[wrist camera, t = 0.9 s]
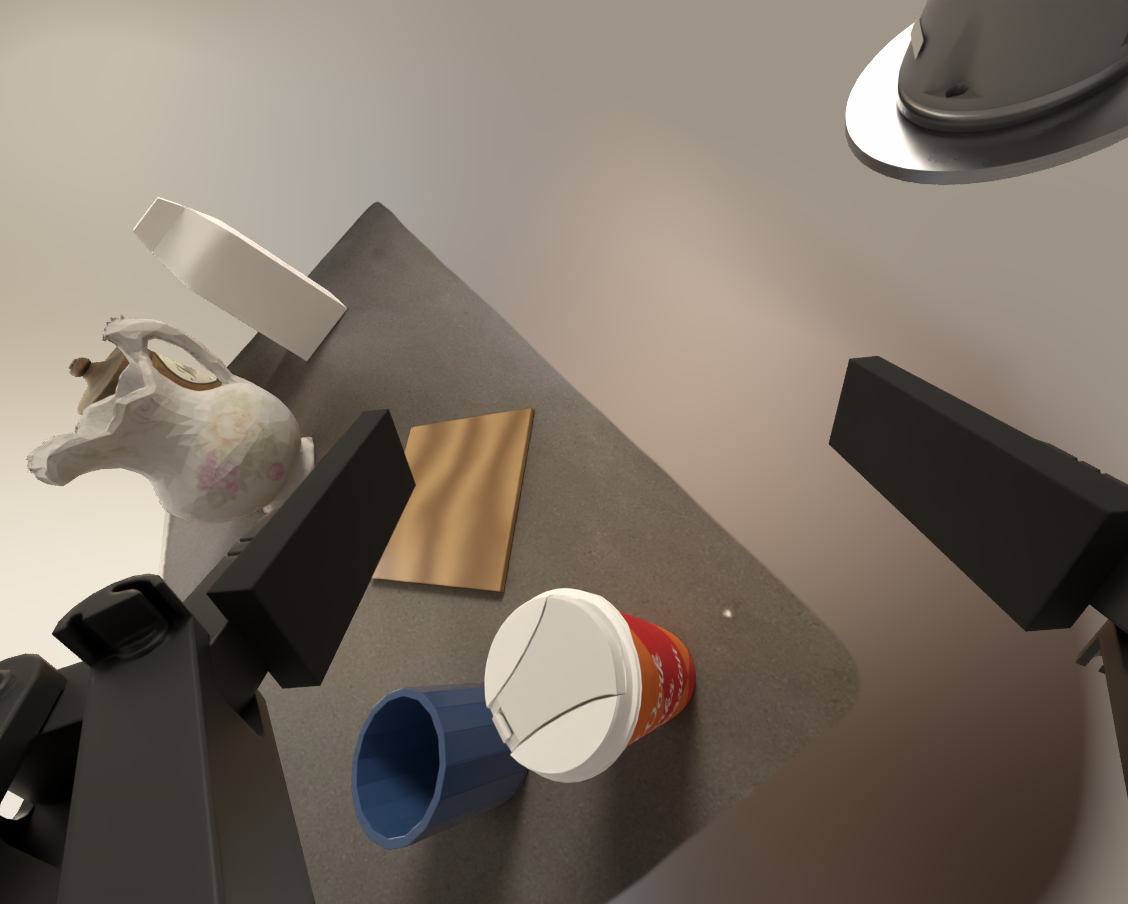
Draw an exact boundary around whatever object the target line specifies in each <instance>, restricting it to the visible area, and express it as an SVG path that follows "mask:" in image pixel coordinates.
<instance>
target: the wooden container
mask: <svg viewBox="0 0 1128 904" xmlns="http://www.w3.org/2000/svg"><path fill="white" fill-rule="evenodd" d="M148 354H149V357H150V359H151V361H152V363H153V367H154V368H155V369H156V370H157V371H158V372H159V373H160V374H162V375H163V376H165V377H166V378H168V379H169V380H171V381H172V382H174V383H175V384H177V385H179V386H181V387H183V388H186V389H190V390H194V391H206V390H211V389H214V388H217V387H220V386H222V382H220V381H219V380H217V379H215V378H212V377H210V376H208V375H206V374H204V373H201V372H199V371H197V370H194V369H192V368H190V367H188V366H185V365H183V364H180V363H178V362H175V361H174V360H171V359H169V358H167V357H165V356H162V355H160V354H158V353H155V352H153V351H151V350H149V349H148ZM129 364H130V363H129V361H128V360H127V358H126V356H125V355H124V353H123V352H122V351H121V350H120V349H119V348H118V347H116V348H115V350H114V351H113V352H112V353H111V354H110V355H109V357H108V358H107V359H106V360H105V361H104V362H96V363H91V361H90V360H89V359H87V358H78V359H74V360H73V362H72V363H71V364H70V366H69V369H70V373H71V375H73V376H75V377H81V376H83V378H84V379H85V380H86V382H87V383H88V387H87V389H86V391H85V393H84V394H83V397H82V399H81V401H80V403H79V406H78V410H77V412H78V413H79V414H81V415H82V413H83V410H84V409H85V408H87V407H88V406H89V405H91V404H93V403H96V402H98V401H100V400H102V399H105V398H107V397H109V396H111V395H114V394H115V391H116V388H117V385H118V382H119V377H120V375H121V373H122V372H123V371H124V370H125V369H126V367H127V366H128V365H129Z"/></svg>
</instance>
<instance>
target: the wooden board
mask: <svg viewBox="0 0 1128 904" xmlns="http://www.w3.org/2000/svg"><path fill="white" fill-rule="evenodd" d="M533 415H534V410H533V409H532V408H527V409H521V410H515V411H509V412H503V413H497V414H491V415H485V416H478V417H472V418H466V419H460V420H454V421H448V422H442V423H436V424H430V425H424V426H417V427H412V428H411V431H410V435H409V438H408V442H407V446H406V449H405V456H406V458H407V461H408V464H409V467H410V469H411V472H412V475H413V478H414V481H415V483H416V486H415V488H414V490H413V492H412V494H411V497H410V499H409V501H408V503H407V505H406V507H405V509H404V511H403V513H402V515H401V517H400V520H399V522H398V524H397V526H396V528H395V530H394V532H393V534H392V536H391V538H390V541H389V543H388V545H387V547H386V549H385V551H384V553H383V555H382V557H381V559H380V562H379V564H378V566H377V568H376V570H375V572H374V574H373V576H372V578H373V579H382V580H392V581H401V582H411V583H420V584H430V585H440V586H449V587H459V588H468V589H478V590H488V591H497V592H504V587H505V581H506V575H507V569H508V563H509V557H510V551H511V545H512V540H513V534H514V528H515V522H516V516H517V510H518V504H519V498H520V492H521V486H522V480H523V474H524V468H525V463H526V457H527V451H528V445H529V439H530V433H531V427H532V421H533Z"/></svg>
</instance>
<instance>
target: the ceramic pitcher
mask: <svg viewBox="0 0 1128 904" xmlns="http://www.w3.org/2000/svg"><path fill="white" fill-rule="evenodd" d="M111 321H112V322H107V326H106V327H105V328H104V330H105V332H103V341H106V339H107V340H108V341H110V342H112V343H114V344H115V345H116V346H117V347H118V348H119V349H120V350H121V351H122V352H123V353H124V355H125V356H126V358H127V360H128V361H129V363H130V364H129V365H128V366H127V367H126V369H125V370H124V371H123V372H122V373H121V375H120V377H119V382H118V385H117V388H116V391H115V394H114V395H111V396H109V397H107V398H105V399H102V400H100V401H98V402H96V403H93V404H91V405H89V406H88V407H87V408H85V409H84V410H83V413H82V417H81V418H80V419H79V420H78V422H77V424H76V426H75V433H72V434H64V435H58V436H53V437H51V438H49V439H48V440H47V441H46V442H43V444H42V445H41V446H39V447H37V448H36V449H34V450H33V451H32V452H30V454H29V455H28V456H27V460H28V464H27V467H28V469H29V470H30V471H31V473H34V474H35V476H36V478H37V479H38V480H40V481H42V482H44V483H46V484H51V485H57V486H64V485H66V484H67V483H69V482H70V481H72V480H73V479H75V478H76V477H78V476H79V475H82V474H85V473H88V472H91V471H95V470H100V469H113V468H123V469H126V470H130V471H134V472H136V473H139V474H141V475H143V476H145V477H146V478H147V479H148V480H149V481H150V482H151V483H152V485H153V487H154V490H155V492H156V494H157V496H158V498H159V502H160V504H161V505H162V507H163V508H164V509H165V510H166V511H167V512H169V513H170V514H172V515H174V516H176V517H179V518H181V519H184V520H188V521H195V522H202V523H223V522H229V521H233V520H237V519H241V518H244V517H247V516H250V515H251V514H253V513H255V512H256V511H258V510H260V509H262V508H264V512H265V513H269V512H271V511H272V510H274V509H275V508H276V507H281V506H282V505H283V504H284V502H285V501H286V500H287V499H288V498H289V497H290V496H291V494H292V493H293V492H294V491H295V490H296V489H297V487H298V486H299V485H300V484H301V483H302V482H303V481H304V479H305V478H306V477H307V476H308V475H309V474H310V472H311V471H312V470H313V469H314V468H315V466H314V443H313V440H312V437H303V438H301V435H300V429H299V425H298V423H297V421H296V419H295V418H294V416H293V414H292V413H291V412H290V410H289V409H288V408H287V407H286V406H285V405H284V404H283V403H282V402H281V401H280V400H279V399H278V398H276V397H275V396H274V395H272V394H271V393H269V392H267V391H266V390H264V389H262V388H260V387H258V386H256V385H255V384H253V383H251V382H249V381H247V380H245V379H242V378H240V377H237V376H235V375H233V374H231V372H230V371H229V370H228V369H227V368H226V366H225V365H224V364H223V362H222V361H221V360H220V359H219V358H218V357H217V356H216V355H214V354H213V353H212V352H210V351H209V350H208V349H207V348H206V347H205V346H204V345H203V344H202V343H200V342H199V341H198V340H196V339H195V338H193V337H191V336H190V335H188V334H186V333H185V332H183V331H181V330H179V329H177V328H174V327H172V326H170V325H168V324H166V323H164V322H160V321H157V320H152V319H128V318H124V317H123V316H122V315H121V318H120V319H117V320H116V318H114V319H113V318H111ZM150 339H159V340H163V341H165V342H168V343H170V344H173V345H175V346H177V347H180V348H182V349H183V350H185V351H186V352H188V353H189V354H190V355H192V357H193V358H194V359H195V360H196V361H197V362H198V363H200V364H201V365H202V366H203V367H204V368H205V369H206V370H208V371H209V372H211V373H212V374H213V375H215V376H216V377H217V378H218V379H219V380H220V381H221V382H222V386H220V387H217V388H214V389H211V390H206V391H194V390H190V389H186V388H183V387H181V386H179V385H177V384H175V383H174V382H172V381H171V380H169V379H168V378H166V377H165V376H163V375H162V374H160V373H159V372H158V371H157V370H156V369H155V368H154V367H153V363H152V361H151V359H150V357H149V354H148V349H147V344H148V340H150ZM29 470H28V471H29Z"/></svg>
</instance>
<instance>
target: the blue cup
mask: <svg viewBox="0 0 1128 904" xmlns="http://www.w3.org/2000/svg"><path fill="white" fill-rule="evenodd" d="M490 709H491V708H487V706H486V699H485V684H484V682H480V683H465V684H450V685H435V686H420V687H405V688H401V689H399V690H396V691H393V692H390V693H388V694H386V695H385V696H384V697H383V698H382V699H381V700H380V701H379V702H378V703H377V704H376V705H375V706H374V707H373V708H372V710H371V712H370V713H369V715H368V717H367V719H366V721H365V723H364V725H363V727H362V729H361V731H360V733H359V737H358V741H357V745H356V749H355V753H354V756H353V761H352V785H351V790H352V796H353V801H354V806H355V811H356V816H357V819H358V821H359V823H360V824H361V826H362V828H363V830H364V831H365V833H366V835H367V837H368V838H369V839H370V840H371V841H372V842H374V843H376V844H377V845H379V846H381V847H383V848H384V849H386V850H391V849H396V848H402V847H407V846H409V845H412V844H414V843H416V842H418V841H421V840H423V839H425V838H428V837H430V836H432V835H435V834H437V833H439V832H441V831H444V830H446V829H448V828H451V827H453V826H455V825H458V824H460V823H462V822H464V821H467V820H469V819H471V818H474V817H476V816H478V815H481V814H483V813H485V812H487V811H490V810H492V809H494V808H497V807H499V806H500V805H501V804H503V803H505V802H506V801H508V800H509V799H510V798H511V797H512V796H513V795H514V794H515V793H516V792H517V791H518V789H519V788H520V786H521V784H522V783H523V781H524V779H525V776H526V774H527V771H528V768H526V767H525V766H523V765H521V764H520V763H518V762H517V761H516V760H515V759H514V758H513V757H512V756H511V755H510V754H511V753H512V752H511V750H510V748H509V747H508V745H507V744H506V743H503V741H502V739H501V737H500V735H499V732H498V730H497V728H496V726H495V724H494V722H493V720H492V718H493V714H492V712H491V710H490Z"/></svg>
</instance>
